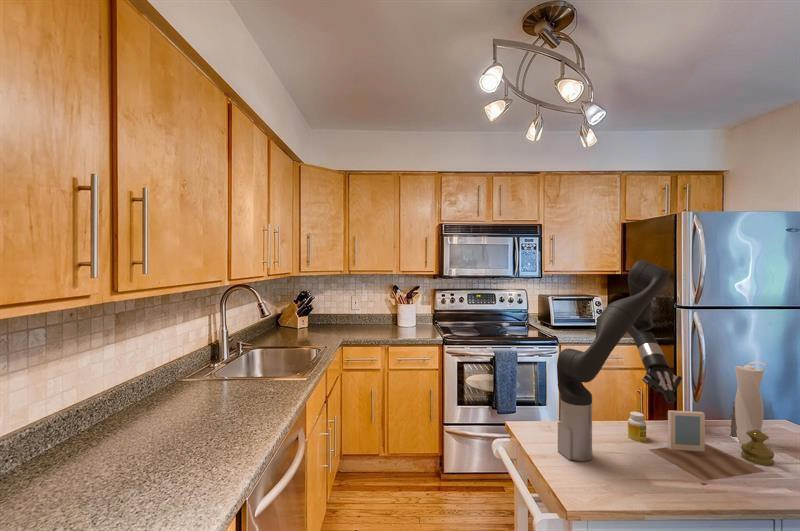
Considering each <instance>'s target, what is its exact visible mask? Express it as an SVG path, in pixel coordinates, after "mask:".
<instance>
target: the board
mask: <svg viewBox="0 0 800 531" xmlns="http://www.w3.org/2000/svg"><path fill="white" fill-rule="evenodd" d="M648 451H650V452H652V453H653V454H655V455H656V456H658V457H661V458H662V459H664V460H666V461H667V462H669V463H671V464H673V465H675V466H677V467H678V468H680V469H682V470H683V471H685V472H687V473H689V474H691V475H692V476H694V477H696V478H698V479H699V480H701V481H704V482H705V481H710V480H718V479H725V478H731V477H737V476H744V475H749V474H750V475H751V474H757V473H763V472H764V473H765V470H764V469H762V468H759V467H757V466H755V465H754V464H751V463H750V462H749V463H748V461H746V460H745V461H744V460H742V459H740V458H738V457H736V456H735V455H734V456H733V455H732V454H729V453H727V452H724V451H723V450H721V449H718V448H716V447H715V446H712V445H710V444H708V443H706V442H705V451H689V450H672V449H669V448H668V446H666V447H665V446H664V447H658V448H650V449H648ZM700 484H701V485H703V486H707V485H708V483H702V482H701V483H700Z"/></svg>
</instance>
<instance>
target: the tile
mask: <svg viewBox="0 0 800 531" xmlns="http://www.w3.org/2000/svg"><path fill="white" fill-rule="evenodd" d="M705 415H706V414H705V413H704V412H703V411H690V410H689V411H688V410H669V409H668V410H667V447H668V448H669V449H672V450H689V451H705V443H706V442H705V440H706V438H705V436H706V433H705V430H706V427H705V426H706V424H705V423H706V422H705V421H706V419H705V418H706V416H705Z"/></svg>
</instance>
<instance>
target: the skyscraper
mask: <svg viewBox="0 0 800 531" xmlns="http://www.w3.org/2000/svg"><path fill="white" fill-rule="evenodd" d="M752 364H759V365H763V368H762V369H758V368H756V367H755V366H753V365H752ZM766 367H767V364H766V363H763V362H760V361H752V362H748V364H747V365H746V364H745V365H743V366H740V365H737V366H734V371H735V376H736V383H737V388H736V392H735V400H734V401H733V402H732V403H733V405H732V412H731V413H730V417H731V420H730V434H729V437H730V436H732V437H737V436H738V437H737V438H738V440H739V444H740V445H741V444H745V443H747V442H750V441H751V438H750V437H749V436H748V435H747V434H746V432H747V431H750V430H759V431H761V432H762V429H763V428H762V427H763V424H764V422H763V421H764V401H763V397H762V394H761V390H760V389H761V385H762V381H763V377H764V372H765V370H766Z"/></svg>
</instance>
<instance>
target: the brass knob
mask: <svg viewBox="0 0 800 531" xmlns="http://www.w3.org/2000/svg"><path fill="white" fill-rule="evenodd" d="M746 434H747V435H748V436H749V437H750V438H751V441H750V442H747V443H745V444H742V445H741V444H740V445H741V446H740V449H741V452H740V455H741V458H742V459H744V460H745V461H746V462H749V463H750V464H751V463H752V464H753V465H759V466H763V467H772V466H775V460H774V457H775V453H774V451H773V450H772V449H771V448H769V447H768V446H767V445H766V444H765V443H764V442H765V441H767V440H770V439H769V438H770V436H769V435H768V434H766V433H764V432H763V431H762V430H761V431H759V430H750V431H747V432H746Z"/></svg>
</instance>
